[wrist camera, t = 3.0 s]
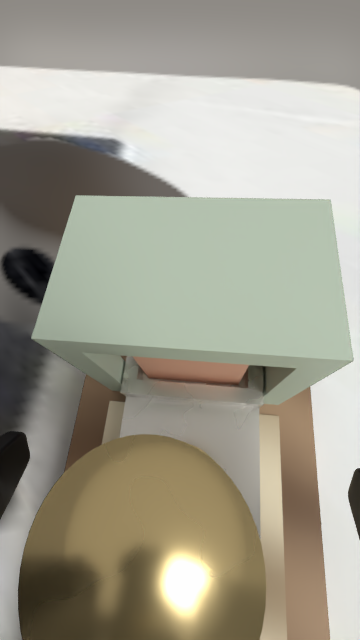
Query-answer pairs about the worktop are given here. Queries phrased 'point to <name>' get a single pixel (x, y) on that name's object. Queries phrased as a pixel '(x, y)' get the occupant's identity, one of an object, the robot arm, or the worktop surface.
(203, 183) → the worktop surface
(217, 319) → the tunnel
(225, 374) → the terracotta block
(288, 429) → the track board
